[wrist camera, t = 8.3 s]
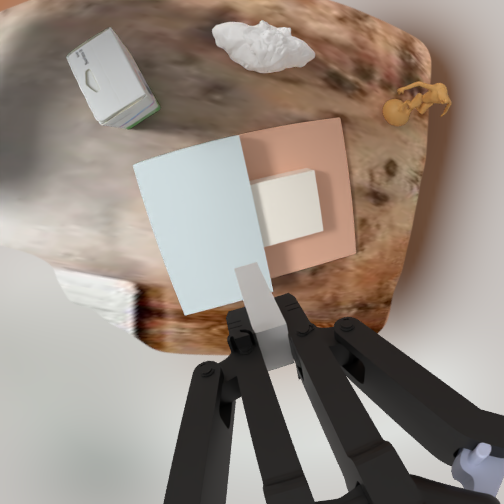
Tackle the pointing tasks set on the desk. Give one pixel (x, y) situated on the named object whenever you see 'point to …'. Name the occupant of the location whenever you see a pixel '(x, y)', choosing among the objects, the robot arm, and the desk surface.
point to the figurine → (415, 103)
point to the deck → (203, 220)
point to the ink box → (112, 81)
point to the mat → (328, 185)
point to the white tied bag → (262, 46)
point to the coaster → (287, 206)
